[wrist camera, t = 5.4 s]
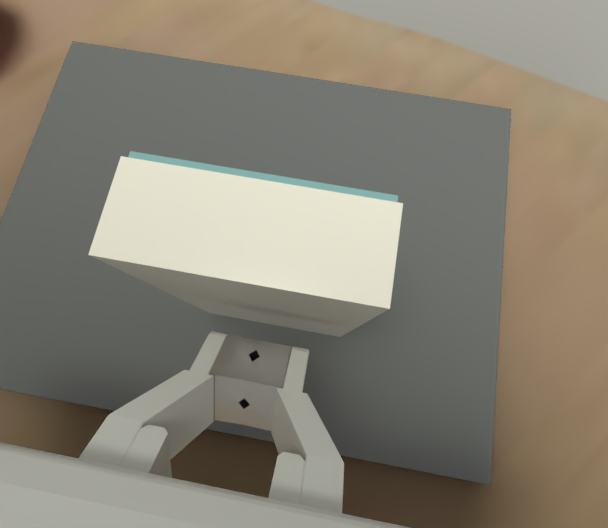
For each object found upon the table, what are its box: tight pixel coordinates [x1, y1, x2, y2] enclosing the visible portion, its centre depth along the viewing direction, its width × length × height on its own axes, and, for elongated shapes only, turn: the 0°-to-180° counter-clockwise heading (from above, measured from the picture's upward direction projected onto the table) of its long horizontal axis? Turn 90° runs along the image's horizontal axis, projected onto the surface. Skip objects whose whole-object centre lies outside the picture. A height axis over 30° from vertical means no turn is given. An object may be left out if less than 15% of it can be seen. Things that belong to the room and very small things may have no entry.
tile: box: [88, 151, 403, 337], centre depth 12 cm, size 6×2×10 cm, turn 80°
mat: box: [0, 41, 511, 485], centre depth 18 cm, size 24×18×1 cm
